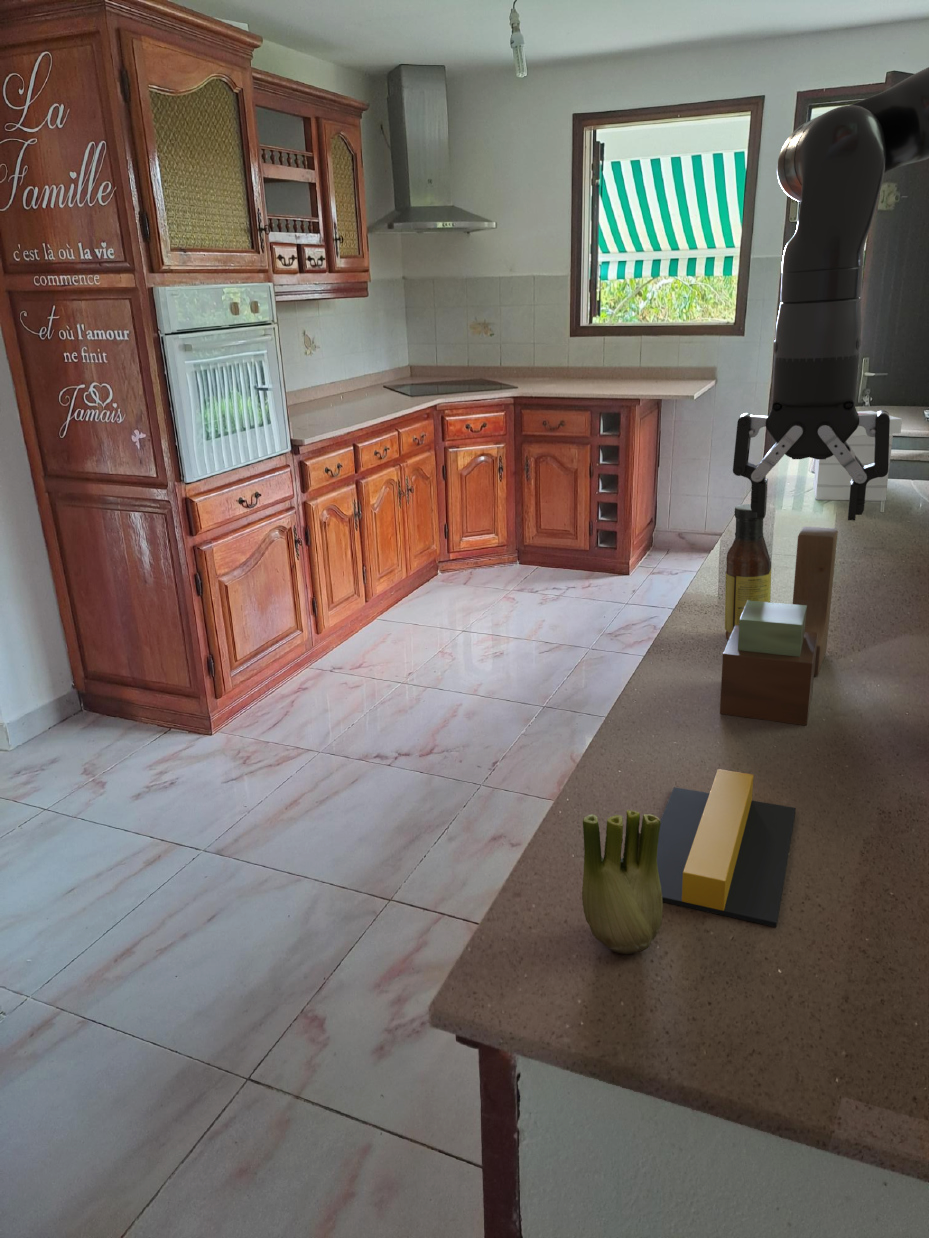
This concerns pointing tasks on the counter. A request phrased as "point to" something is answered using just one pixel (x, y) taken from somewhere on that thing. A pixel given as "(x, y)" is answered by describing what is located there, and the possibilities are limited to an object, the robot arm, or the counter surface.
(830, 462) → the pizza boxes
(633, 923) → the fennel bulb
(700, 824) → the bar
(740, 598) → the sauce bottle
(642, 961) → the counter surface
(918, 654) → the counter surface
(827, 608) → the wooden block
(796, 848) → the counter surface
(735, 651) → the green-topped brown box
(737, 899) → the mat
